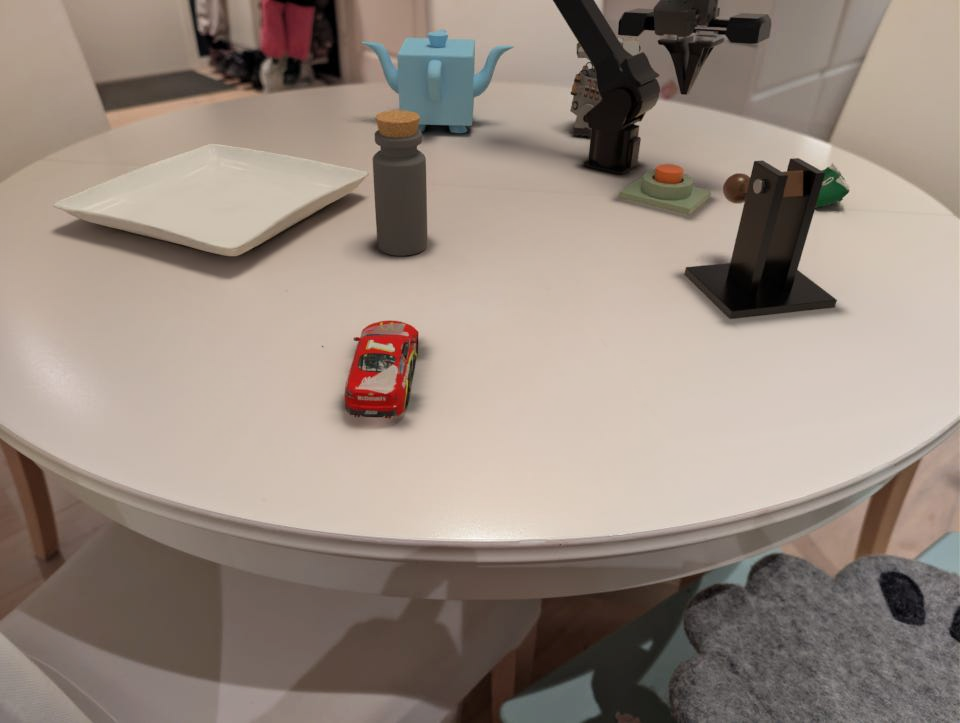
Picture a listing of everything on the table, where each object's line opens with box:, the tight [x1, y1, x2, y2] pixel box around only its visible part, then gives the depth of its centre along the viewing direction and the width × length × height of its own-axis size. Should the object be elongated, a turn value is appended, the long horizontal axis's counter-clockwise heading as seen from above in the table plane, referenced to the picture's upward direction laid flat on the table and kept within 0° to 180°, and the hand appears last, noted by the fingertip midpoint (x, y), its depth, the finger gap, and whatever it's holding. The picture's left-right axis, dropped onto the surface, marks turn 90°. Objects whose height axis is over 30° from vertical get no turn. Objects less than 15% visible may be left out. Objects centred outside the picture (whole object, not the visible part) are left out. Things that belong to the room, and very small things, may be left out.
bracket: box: [684, 157, 838, 320], centre depth 75 cm, size 10×12×14 cm
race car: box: [344, 319, 419, 419], centre depth 63 cm, size 13×5×4 cm, turn 177°
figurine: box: [570, 36, 642, 139], centre depth 123 cm, size 9×12×15 cm
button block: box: [618, 170, 712, 216], centre depth 100 cm, size 10×8×3 cm
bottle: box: [372, 109, 428, 257], centre depth 83 cm, size 6×6×15 cm
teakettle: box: [361, 29, 515, 134], centre depth 125 cm, size 19×19×15 cm
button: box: [654, 163, 684, 184], centre depth 99 cm, size 4×4×2 cm
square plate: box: [52, 143, 369, 257], centre depth 93 cm, size 27×27×4 cm
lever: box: [722, 170, 803, 205], centre depth 76 cm, size 11×3×3 cm, turn 14°
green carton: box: [815, 162, 850, 209], centre depth 101 cm, size 9×4×6 cm
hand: (684, 94), depth 101 cm, fingers closed
